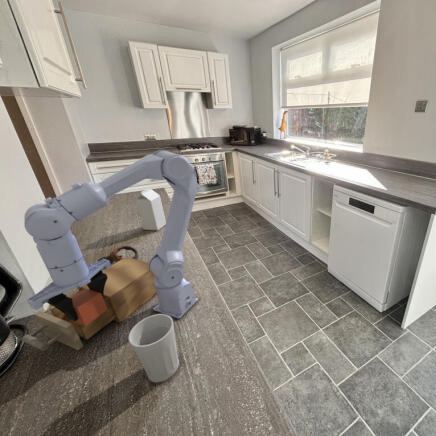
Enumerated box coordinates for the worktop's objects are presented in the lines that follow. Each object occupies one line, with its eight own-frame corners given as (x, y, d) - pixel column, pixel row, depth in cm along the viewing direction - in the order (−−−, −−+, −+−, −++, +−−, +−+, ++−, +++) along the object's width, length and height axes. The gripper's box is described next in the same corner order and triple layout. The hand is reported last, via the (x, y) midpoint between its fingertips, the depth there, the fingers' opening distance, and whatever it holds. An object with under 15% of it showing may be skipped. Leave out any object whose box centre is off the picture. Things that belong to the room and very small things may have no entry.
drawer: (56, 367, 52) (42, 344, 49) (24, 351, 55) (9, 328, 52) (130, 309, 68) (123, 289, 64) (101, 299, 71) (93, 279, 68)
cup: (188, 351, 57) (179, 313, 52) (174, 386, 50) (162, 346, 45) (154, 351, 57) (142, 314, 52) (135, 386, 50) (119, 347, 45)
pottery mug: (127, 256, 94) (133, 241, 91) (139, 273, 91) (145, 258, 87) (90, 264, 84) (95, 247, 80) (101, 284, 80) (107, 267, 77)
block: (107, 309, 57) (101, 293, 55) (85, 325, 52) (77, 308, 50) (92, 304, 58) (85, 288, 56) (69, 319, 54) (61, 302, 52)
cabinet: (119, 322, 64) (110, 296, 61) (87, 310, 68) (76, 285, 64) (162, 288, 77) (156, 264, 73) (133, 279, 81) (126, 256, 77)
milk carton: (166, 224, 119) (158, 187, 111) (157, 230, 113) (148, 192, 105) (153, 223, 120) (144, 186, 112) (143, 229, 113) (133, 191, 105)
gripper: (33, 287, 42) (62, 341, 47) (113, 246, 54) (128, 293, 60) (8, 278, 44) (39, 331, 49) (91, 241, 56) (108, 287, 62)
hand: (87, 310), depth 55 cm, fingers closed on block, 5 cm apart
